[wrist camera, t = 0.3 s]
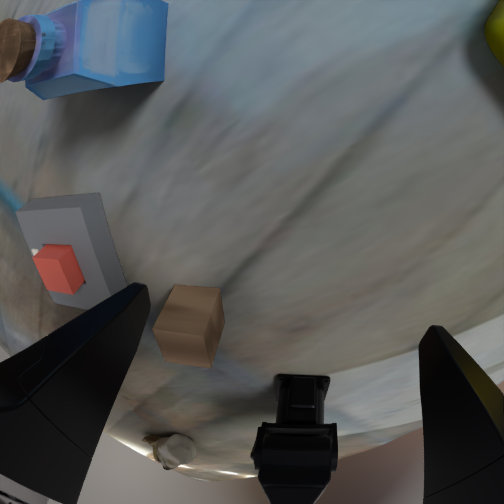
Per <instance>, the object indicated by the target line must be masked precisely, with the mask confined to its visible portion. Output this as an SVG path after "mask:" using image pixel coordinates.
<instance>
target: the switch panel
mask: <svg viewBox="0 0 504 504" xmlns="http://www.w3.org/2000/svg"><path fill="white" fill-rule="evenodd" d="M16 215H17V217H18V220H19V223H20V226H21V229H22V231H23V234H24V237H25V239H26V242H27V244H28V247H29V249H30V252H31V254H32V256H35V255H36V254H37V253H38V252H39V251H40V250H41V249H42V248H43V247H44V246H45V245H46V244H60V245H72V248H73V251H74V254H75V256H76V259H77V261H78V264H79V267H80V269H81V272H82V274H83V276H84V279H85V281H84V282H83V284H82V285H81V286H80V287H79V288H78V290H77V291H76V292H75V293H74V295H72V294H66V293H61V292H55V291H50V290H48V291H49V293H50V295H51V297H52V299H53V301H54V303H57V304H62V305H66V306H71V307H76V308H81V309H86V310H89V309H90V308H92V307H94V306H95V305H97V304H99V303H100V302H102V301H104V300H105V299H107V298H108V297H110V296H112V295H113V294H115V293H117V292H118V291H120V290H122V289H123V288H125V287H127V283H126V280H125V278H124V275H123V272H122V269H121V266H120V263H119V260H118V256H117V253H116V250H115V247H114V244H113V240H112V237H111V234H110V230H109V227H108V223H107V219H106V216H105V212H104V208H103V204H102V200H101V197H100V193H90V194H78V195H67V196H56V197H47V198H38V199H33V200H31V201H30V202H29V203H27V204H26V205H24V206H23V207H22V208H20V209H19V210H17V211H16Z"/></svg>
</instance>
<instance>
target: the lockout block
mask: <svg viewBox="0 0 504 504" xmlns="http://www.w3.org/2000/svg"><path fill="white" fill-rule="evenodd" d="M224 323H225V319H224V312H223V306H222V299H221V292H220V288H213V287H199V286H187V285H175V286H174V288H173V290H172V291H171V293H170V295H169V297H168V299H167V301H166V303H165V305H164V307H163V309H162V311H161V313H160V314H159V316H158V318H157V320H156V322H155V324H154V326H153V328H152V330H153V333H154V335H155V338H156V340H157V343H158V345H159V348H160V350H161V353H162V355H163V357H164V360H165V361H167V362H173V363H178V364H185V365H191V366H198V367H205V368H211V367H212V364H213V361H214V357H215V354H216V350H217V347H218V343H219V340H220V337H221V333H222V330H223V326H224Z"/></svg>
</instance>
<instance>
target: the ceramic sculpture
mask: <svg viewBox="0 0 504 504" xmlns="http://www.w3.org/2000/svg"><path fill="white" fill-rule="evenodd" d="M142 441H144V442H148V443H149V444H150V445H151V446H153V455H154V458H155V460H156V461H157V462H159V463H161V464H162V465H163V468H164V469H166V470H170V469H175V468H177V467H178V466H179V465H181V464H182V465H183V464H188V463H190V462H191V461H192V460H193V459H194V458H196V445H195V443H194V442H193V441H192V440H191V439H190V438H188V437H187V436H185V435H181V434H174V435H172V436H170V437H162V438H160V437H158V436H154V435H149V436H146V437H144V438H143V440H142Z"/></svg>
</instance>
